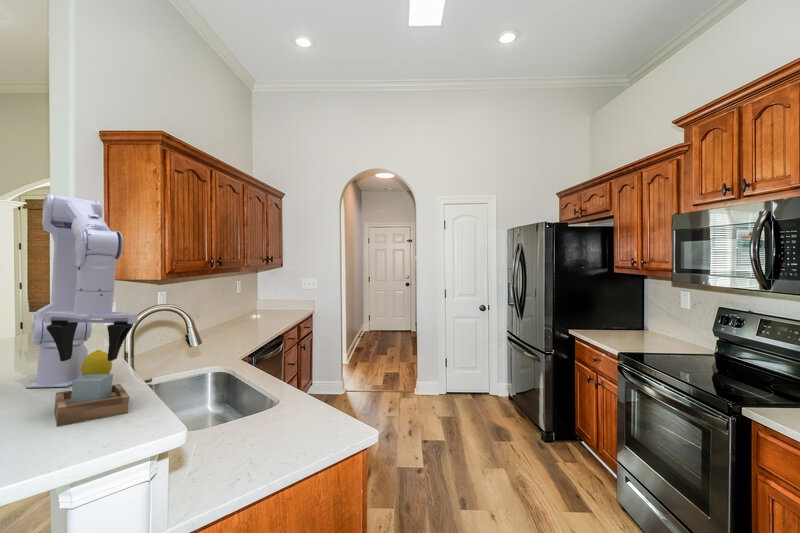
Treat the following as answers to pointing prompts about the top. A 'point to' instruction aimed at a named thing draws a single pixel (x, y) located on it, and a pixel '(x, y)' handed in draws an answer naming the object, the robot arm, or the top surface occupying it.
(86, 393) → the block
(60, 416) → the walnut base
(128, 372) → the top surface
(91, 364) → the lemon
